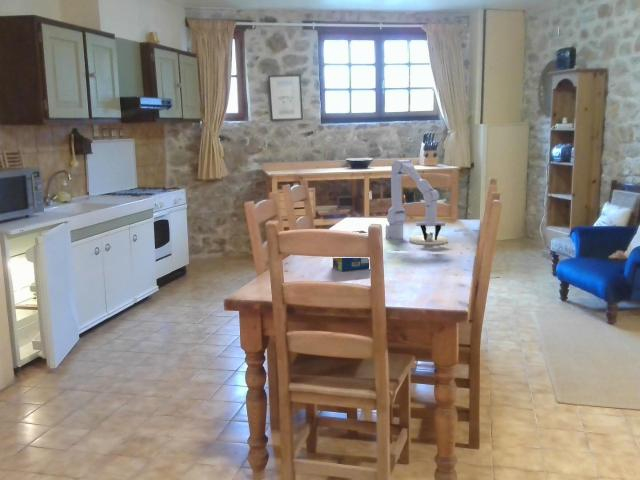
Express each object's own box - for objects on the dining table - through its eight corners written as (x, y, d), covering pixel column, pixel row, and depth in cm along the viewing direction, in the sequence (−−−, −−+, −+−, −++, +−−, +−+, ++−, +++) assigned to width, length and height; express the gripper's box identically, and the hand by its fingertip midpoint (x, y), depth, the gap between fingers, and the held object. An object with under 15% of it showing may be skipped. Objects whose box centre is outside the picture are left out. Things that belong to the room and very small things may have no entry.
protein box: (332, 266, 273) (332, 233, 270) (363, 263, 278) (363, 230, 275) (341, 272, 263) (341, 236, 260) (373, 268, 268) (373, 234, 266)
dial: (409, 237, 333) (409, 226, 332) (446, 237, 330) (446, 227, 329) (409, 244, 314) (409, 233, 312) (448, 245, 311) (449, 233, 310)
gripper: (417, 214, 307) (417, 241, 310) (446, 214, 307) (445, 241, 310) (416, 212, 314) (415, 238, 317) (444, 212, 314) (443, 238, 317)
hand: (430, 239), depth 314 cm, fingers open, 5 cm apart
